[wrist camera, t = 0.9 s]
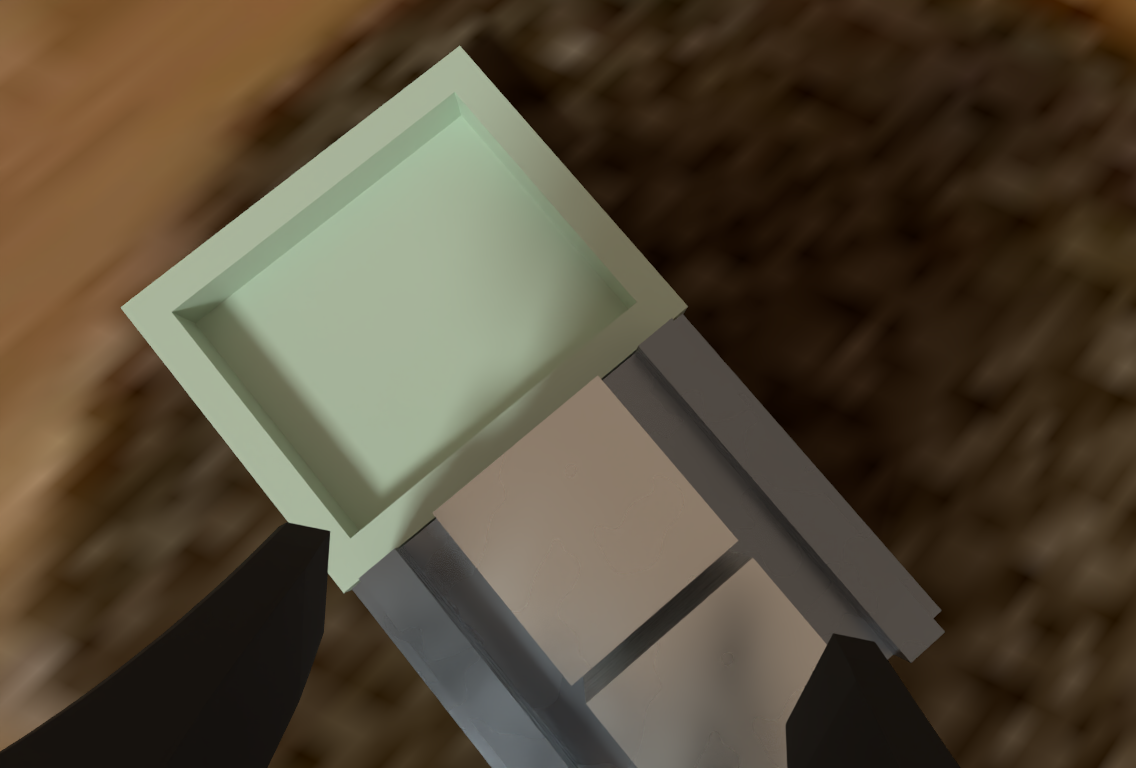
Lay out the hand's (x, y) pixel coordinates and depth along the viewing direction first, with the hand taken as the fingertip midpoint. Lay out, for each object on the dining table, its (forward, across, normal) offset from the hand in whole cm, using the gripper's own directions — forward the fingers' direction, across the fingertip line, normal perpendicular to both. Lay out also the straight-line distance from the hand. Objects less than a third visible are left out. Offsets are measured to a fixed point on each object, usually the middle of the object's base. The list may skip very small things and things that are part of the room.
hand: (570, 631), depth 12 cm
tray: (+14, +5, +3) cm, 15 cm away
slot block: (+10, -3, +8) cm, 13 cm away
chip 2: (+5, -4, +6) cm, 8 cm away
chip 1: (+7, 0, +4) cm, 7 cm away
